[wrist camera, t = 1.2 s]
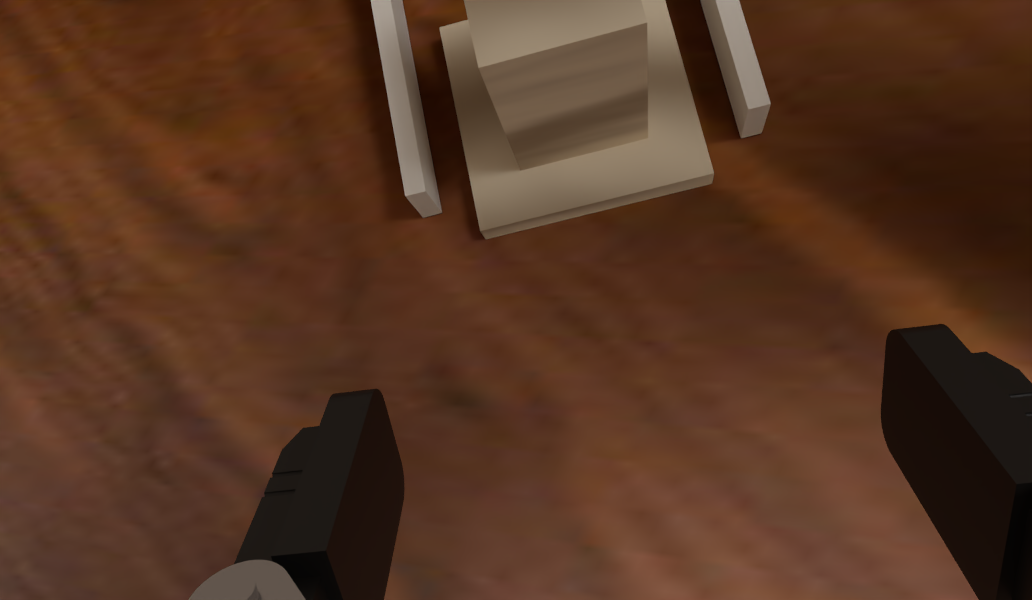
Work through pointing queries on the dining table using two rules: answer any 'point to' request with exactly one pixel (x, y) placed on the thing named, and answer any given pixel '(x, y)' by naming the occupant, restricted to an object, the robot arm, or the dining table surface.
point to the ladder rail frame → (409, 116)
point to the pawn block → (571, 108)
